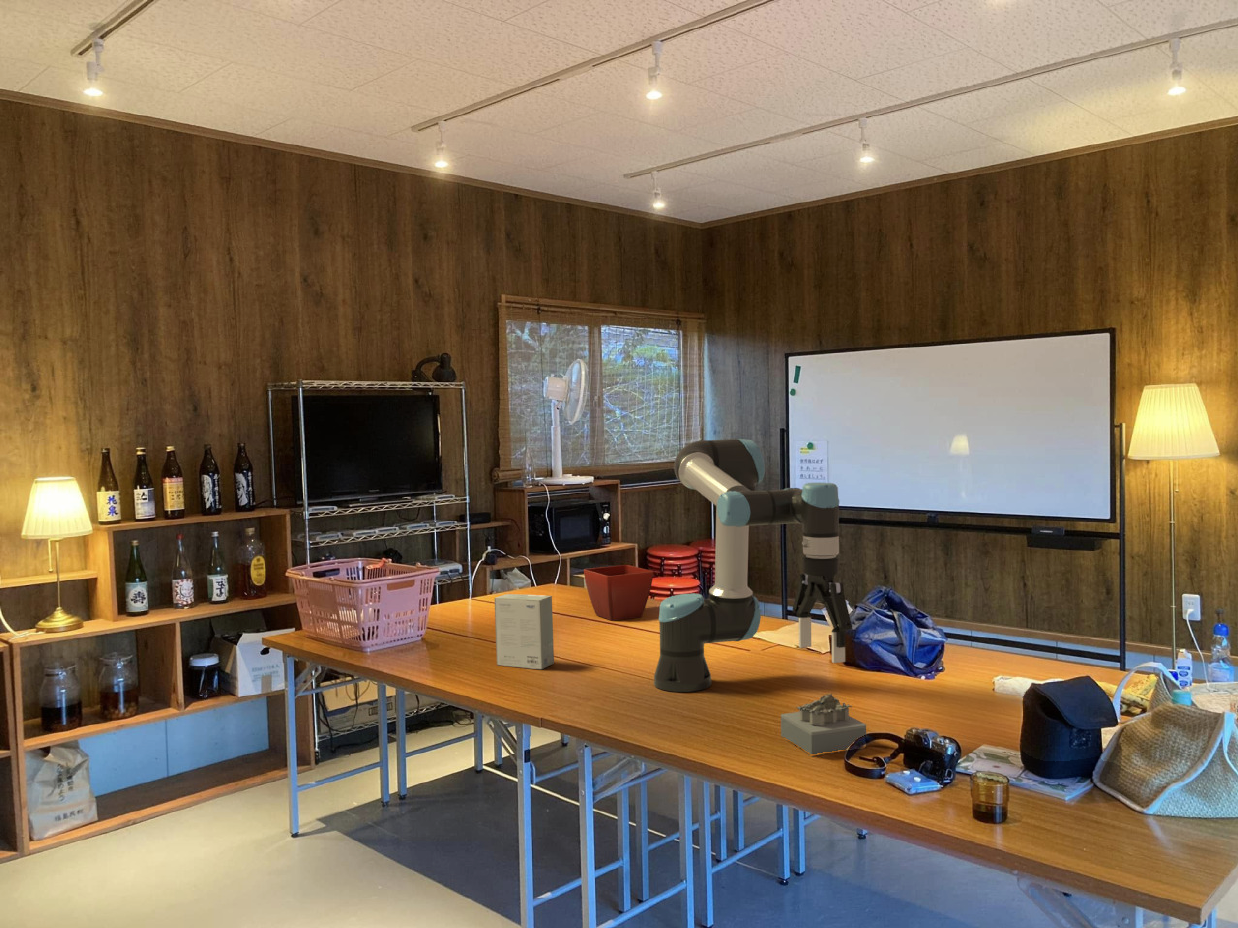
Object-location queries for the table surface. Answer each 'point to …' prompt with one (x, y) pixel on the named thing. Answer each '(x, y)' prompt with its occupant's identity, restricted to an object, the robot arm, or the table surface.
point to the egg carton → (824, 711)
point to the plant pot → (618, 591)
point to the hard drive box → (524, 631)
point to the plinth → (821, 733)
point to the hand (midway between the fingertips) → (821, 654)
